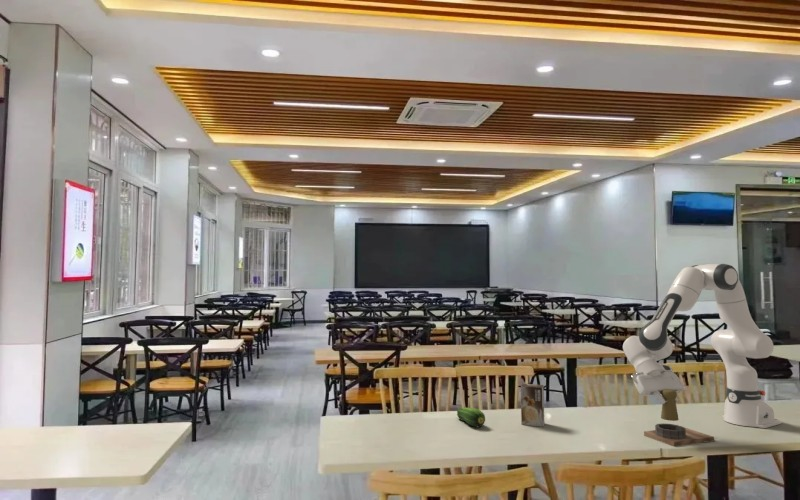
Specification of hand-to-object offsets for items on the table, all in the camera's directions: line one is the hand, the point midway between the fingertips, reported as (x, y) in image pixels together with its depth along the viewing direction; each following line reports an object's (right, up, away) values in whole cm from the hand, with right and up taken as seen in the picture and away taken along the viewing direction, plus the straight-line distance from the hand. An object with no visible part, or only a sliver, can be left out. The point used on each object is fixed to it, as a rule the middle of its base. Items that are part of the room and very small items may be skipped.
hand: (670, 402), depth 199 cm
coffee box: (-48, -15, +20) cm, 54 cm away
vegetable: (-74, -15, +22) cm, 79 cm away
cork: (0, -6, 0) cm, 6 cm away
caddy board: (+4, -14, +1) cm, 14 cm away
